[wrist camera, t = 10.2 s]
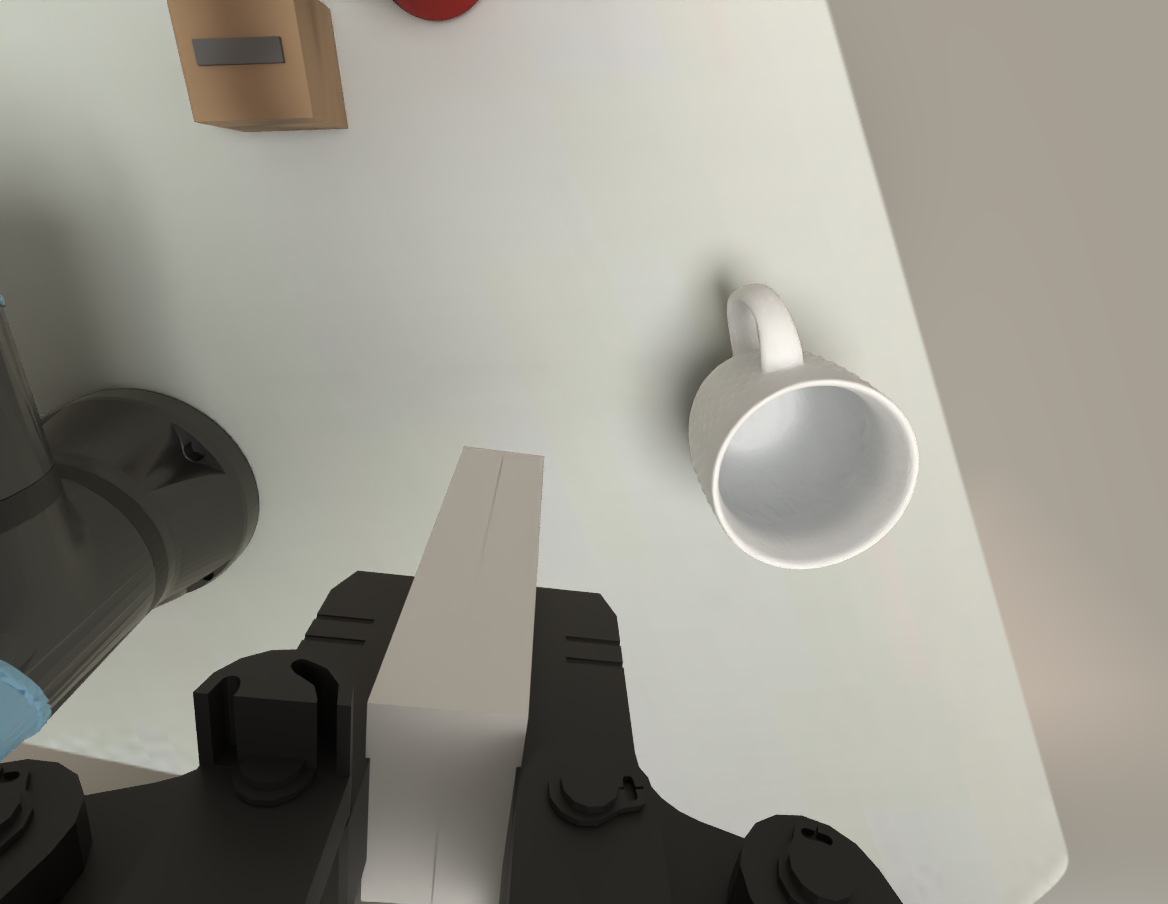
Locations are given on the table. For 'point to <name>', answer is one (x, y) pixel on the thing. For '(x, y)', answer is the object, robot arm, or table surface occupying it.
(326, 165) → the table surface
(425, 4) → the beverage can
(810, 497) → the mug
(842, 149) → the table surface
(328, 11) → the wooden minus sign cube
